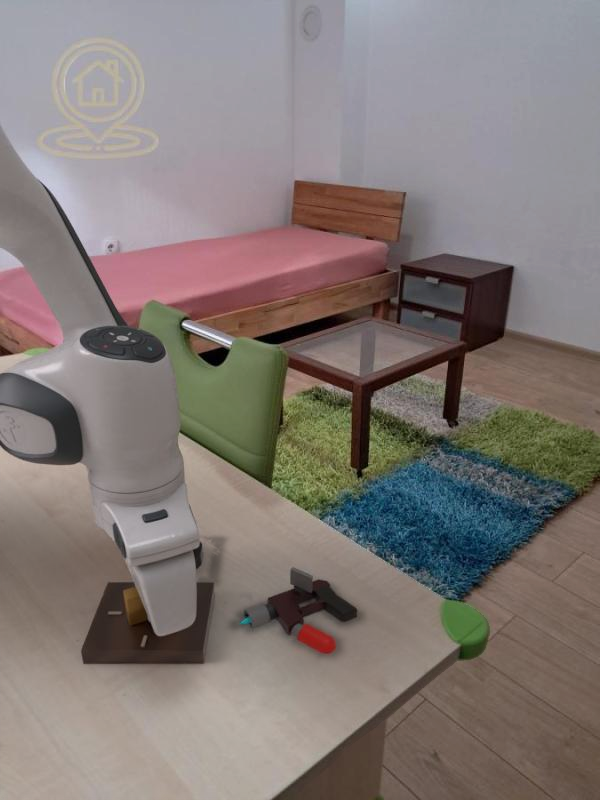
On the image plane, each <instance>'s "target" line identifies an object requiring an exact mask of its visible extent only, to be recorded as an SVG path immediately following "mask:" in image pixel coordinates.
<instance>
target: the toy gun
mask: <svg viewBox="0 0 600 800" xmlns="http://www.w3.org/2000/svg"><path fill="white" fill-rule="evenodd" d="M289 572H290V573H289V577H290V578H289V581H290V582H289V584H290V585H292V586H293V588H291V589H289V590H286V591H283V592H280V593H277V594H274V595H272V596H269V597H267V602H266V603H263V602H262V603H261V602H260V603H259V604H256V605H254V606H251V607H248V608H245V609H243V615H244V616H246V615H248V616H246V618H244V619H243V620H242V621H241V622H239V623H238V625H246V624H251V628H252V629H256V628H258V627H261V626H264V625H266V624H269V623H271V621H273V620H275V619H276V620H277V621H278V623H279V624H280V626H281V627H282V628H283V630H284V631H285V632H286V634H287V635H288V636H289V635H293V636H295V637H297V641H299V642H301V643H303V644H305V645H307V646H308V647H310V648H312V649H314V650H315V651H317V652H319V653H321V654H325V655H326V654H331V653H333V652H334V651H335V650H336V647H337V642H336V640H335V638H334V637H333V636H331V635H330V634H327V633H326V632H324V631H322V630H320V629H318V628H316V627H314V626H312V625H310V624H308V623H305V624H304V618H306V617H308V616H311V615H313V614H315V613H318V612H321V611H323V610H324V611H326V612H327V613H329V614H330V615H331V616H333V617H334V618H335V619H337V620H338V621H340V622H341V623H345V622H348V621H350V620H353V619H356V618H357V617H358V609H357V607H355V606H354V605H353V604H351V603H350V602H348V601H347V600H345V599H344V598H343V597H341V596H339V595H338V594H337V593H336V592H335V591H334V590H333V589H332V587H331V584H330V583H329V582H328V581H327V580H325V579H320V578H319V579H316V580H314V576H313V575H312V574H310V573H308V572H306V571H303V570H301V569H298V568H296V567H294V566H291V568H290V570H289ZM313 599H314V600H315V601H313V602H311V603H308V604H306V605H303V606H300V604H302V603H303V604H304V603H305V602H307V601H310V600H313Z"/></svg>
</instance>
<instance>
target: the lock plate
mask: <svg viewBox="0 0 600 800" xmlns="http://www.w3.org/2000/svg"><path fill="white" fill-rule="evenodd" d="M196 585H197V606H196V618H195V621H194V622H193V624H192V625H191V626H190V627H188V628H185V629H183V630H180V631H178V632H175V633H171V634H168V635H165V636H157V635H156V634H155V632H154V630H153V628H152V625H151V622H149V620H147V621H144V622H141V623H138V624H135V625H132V626H130V624H129V621H128V619H127V616H126V608H125V601H124V593H123V591H124V590H126V589H130V588H133V587H136V586H135V584H134V581H124V582H123V581H108V582H107V583H106V586H105V588H104V590H103V594H102V596H101V599H100V601H99V604H98V607H97V609H96V611H95V614H94V617H93V619H92V621H91V624H90V626H89V628H88V631H87V634H86V637H85V639H84V641H83V644H82V647H81V649H80V653H81V659H82V664H83V665H204V664H205V660H206V654H207V648H208V641H209V635H210V629H211V622H212V617H213V611H214V610H213V609H214V603H215V597H216V589H215V588H216V586H215V582H214V581H211V582H210V581H209V582H208V581H206V582H205V581H204V582H202V581H199V582H198V581H196Z"/></svg>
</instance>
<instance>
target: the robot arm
mask: <svg viewBox="0 0 600 800" xmlns="http://www.w3.org/2000/svg"><path fill="white" fill-rule="evenodd" d="M0 249H2V250H4V251H6V252H8V253H9V254H10V255H11V256H13V257H14V258H15V259H17V260H18V261H19V262H20V263H21V264H22V266H23V267H24V268H25V269H26V271H27V272H28V274H29V275H30V278H31V279H32V281H33V282H34V284H35V286H36V287H37V289H38V291H39V293H40V295H41V296H42V298H43V300H44V302H45V303H46V305H47V308H49V311H50V312H51V314H52V316H53V317H54V319H55V321H56V322H57V324H58V326H59V328H60V329H61V332H62V342H61V343H60V344H58V345H56V346H54V347H52V348H50V349H48V350H45V351H43V352H41V353H37V354H34V355H32V356H30V357H28V358H26V359H24V360H21V361H19V362H17V363H15V364H13V365H11V366H10V367H7V369H5V370H3V371H1V372H0V447H1V448H2V449H3V451H5V452H6V453H7V454H9V455H10V456H12V457H15V458H16V459H19V460H22V461H24V462H28V463H32V464H39V465H47V466H73V465H77V464H82V465H84V467H86V472H87V480H88V487H89V488H88V489H89V493H90V494H89V495H90V500H91V507H92V515H93V519H94V522H95V524H96V525H97V526H98V527H99V528H100V529H102V530H103V531H105V533H106V534H107V535H108V537H109V538H110V539H111V540H112V541H113V542H114V543H115V545H116V547H117V548H118V549H119V551H120V553H121V555H122V557H123V560H124V562H125V564H126V567H127V569H128V571H129V574H130V576H131V580H132V582H134V584H135V586H136V588H137V591H138V593H139V596H140V598H141V600H142V603H143V605H144V608H145V612H146V615H147V618H148V620H149V622H151V625H152V628H153V630H154V632H155V634H156V635H157V636H165V635H168V634H171V633H175V632H178V631H180V630H183V629H185V628H188V627H190V626H191V625H192V624H193V622H194V621H195V618H196V606H197V585H196V582H197V569H196V565H195V558H194V554H193V549H196V548H198V547H199V545H200V542H201V540H200V532H199V528H198V526H197V521H196V518H195V516H194V514H193V510H192V508H191V507H192V506H191V505H190V503H189V497H188V486H187V483H186V474H185V463H184V462H185V461H184V457H183V454H182V452H181V449H180V446H179V435H180V431H181V426H182V419H181V407H180V397H179V389H178V383H177V378H176V377H177V376H176V371H175V368H174V364H173V361H172V358H171V355H170V353H169V352H168V349H167V347H166V345H165V344H164V343H163V341H162V340H161V339H160V338H159V337H158V336H156V335H155V334H153V333H151V332H149V331H146V330H145V329H142V328H138V327H134V326H129V325H128V323H127V322H126V321H125V319H124V317H123V316H122V315H121V313H120V312H119V310H118V308H117V307H116V305H115V303H114V302H113V300H112V298H111V296H110V294H109V292H108V290H107V289H106V286H105V284H104V283H103V281H102V279H101V277H100V275H99V273H98V272H97V269H96V268H95V266H94V264H93V262H92V260H91V258H90V256H89V254H88V253H87V250H86V248H85V246H84V245H83V243H82V241H81V239H80V238H79V236H78V234H77V232H76V230H75V228H74V226H73V224H72V223H71V221H70V219H69V218H68V216H67V214H66V212H65V210H64V209H63V207H62V205H61V203H59V201H58V199H57V198H56V196H54V194H53V192H52V191H51V190H50V189H49V188H48V187H47V186H46V185H45V184H44V183H43V182H42V181H41V180H40V179H39V178H37V177H36V176H35V174H34V173H33V172H32V171H31V169H30V168H28V166H27V165H26V163H25V162H24V161H23V159H22V158H21V156H20V154H19V153H18V152H17V150H16V149H15V147H14V146H13V144H12V143H11V141H10V139H9V137H8V136H7V134H6V132H5V130H4V128H3V126H2V124H0Z"/></svg>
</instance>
